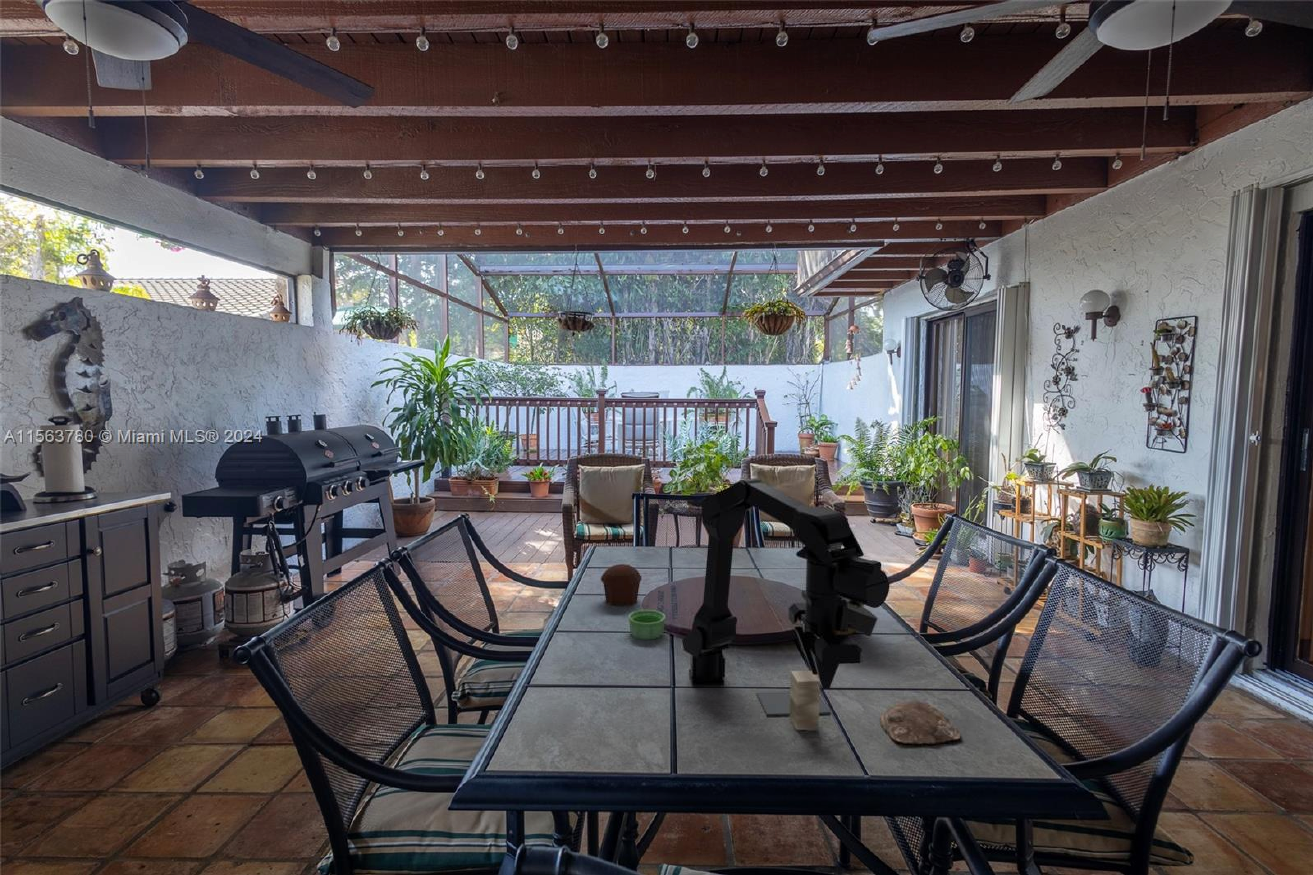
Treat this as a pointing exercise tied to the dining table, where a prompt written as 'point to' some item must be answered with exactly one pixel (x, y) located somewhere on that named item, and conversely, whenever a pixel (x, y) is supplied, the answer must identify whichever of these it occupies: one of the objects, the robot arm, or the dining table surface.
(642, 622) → the ramekin
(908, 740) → the shell
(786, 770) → the dining table surface
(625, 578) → the muffin
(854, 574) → the robot arm
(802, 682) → the oak block
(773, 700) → the mat
